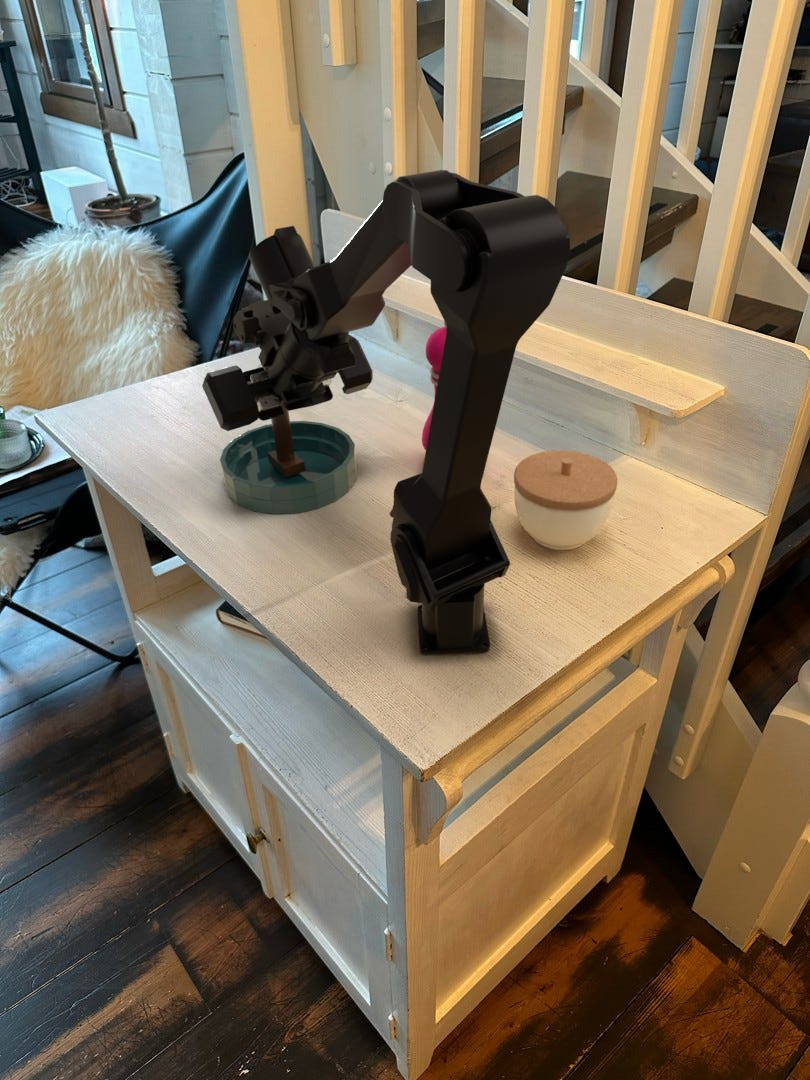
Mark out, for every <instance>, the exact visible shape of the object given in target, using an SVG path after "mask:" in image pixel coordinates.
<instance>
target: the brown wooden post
mask: <svg viewBox="0 0 810 1080" xmlns="http://www.w3.org/2000/svg"><path fill="white" fill-rule="evenodd" d="M263 368H264V370H265V371H266V370H268V368H267V366H266V367H263ZM281 407H282V409H283V412H284V415H281V416H278V417H275V418H272V419H270V421H271V424H272V428H273V435H274V442H275V448H276V450H274V451H271V452H268V459H269V463H270V464H272V465H273V466H274V467H275V468H276V469H277V470H278V471H279V472H280V473H281V474H282V475H284V476H285V477H289V476H292V475H295V474H298V473H301V472H303V471H306V469H305V461H304V460H303V459H301V458H300V457H299V456H298V455H297V454H295V453H294V448H293V440H292V433H291V425H290V421H291V419H290V411H288V404H287V405H284V403H283V400H282V403H281Z"/></svg>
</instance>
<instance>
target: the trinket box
mask: <svg viewBox="0 0 810 1080" xmlns="http://www.w3.org/2000/svg"><path fill="white" fill-rule="evenodd" d="M513 484H514V487H513V489H514V492H513V493H514V494H513V495H514V507H515V511H516V515H517V518H518V521H519V523H520V524H521V526H522V528H523V529H524V531H525V532H527V534H528V535H529V536H531V537H532V539H533V540H534V541H535V543H537V544H538V545H540V546H542V547H544V548H547V549H551V550H554V551H571V550H574V549H577V548H579V547H581V546H583V545H584V544H585V543H587V542H588V541H590V540H591V539H593V538H595V536H596V535H598V534H599V532H600V531H601V530H602V529H603V527H604V526H605V524H606V523H607V521H608V519H609V516H610V514H611V510H612V508H613V504H614V499H615V494H616V491H617V488H618V477H617V473H616V471H615V470H614V469H613V468H612V466H611V465H610V464H608V463H607V462H605V461H604V460H602V459H601V458H599V457H597V456H594V455H591V454H589V453H585V452H581V451H577V450H576V451H575V450H567V449H564V450H563V449H555V450H545V451H541V452H536V453H534V454H531V455H528V456H527V457H525V458H523V459H522V460H521V461H520V462H519V463H518V464H517V465H516V466H515V468H514V472H513Z"/></svg>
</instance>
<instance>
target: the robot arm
mask: <svg viewBox="0 0 810 1080" xmlns="http://www.w3.org/2000/svg"><path fill="white" fill-rule="evenodd" d="M382 195H383V196H382V200H381V201H380V203H378V205H377V206H376V207H375V209H373V211H372V212H371V213H370V215H369V216H368V217H367V218H366V220H365V221H364V222H363V223H362V224H361V226H360V227H359V228H358V229H357V231H355V233H354V235H353V236H352V237H351V238H350V239H349V240H348V242H347V243H346V244H345V245H344V247H343V248H342V249H341V251H340V252H339V253H338V254H337V255H336V256H335V257H333V258H332V259H330V260H329V261H326V262H324V263H322V264H319V265H315V264H314V262H313V259H312V256H311V254H310V253H309V250H308V248H307V246H306V244H305V242H304V240H303V237H302V236H301V234H299V233H298V232H297V230H296V227H295V226H294V225H290V226H284V227H277V228H275V230H274V233H273V234H272V235H270V236H268V237H266V238H264V239H263V240H261V241H259V242H258V244H256V245H255V246H254V247H252V248H251V249H250V250H249V252H248V259H249V261H250V264H251V265H252V268H253V270H254V273H255V274H256V277H257V279H258V282H259V284H260V285H261V288H262V290H263V292H264V295H265V297H266V299H265V300H261V301H256V302H253V303H250V304H249V305H248V306H246V307H244V308H240V311H239V310H238V311H237V312H236V313H235V316H234V317H233V321H232V322H233V324H232V325H233V327H232V328H233V331H234V333H235V335H236V336H237V338H238V340H239V341H240V342H241V344H242V345H243V346H246V345H249V344H252V345H254V346H255V347H256V346H258V348H259V349H260V352H259V354H258V360H259V362H260V364H262V366H263V367H266V366H267V368H268V370H266V371H265V370H264V368H263V367H260V368H258V367H256V368H253V369H248V370H245V371H243V369H242V368H241V367H240V366H238V365H237V364H235V365H231V366H228V367H224V368H223V367H222V368H219V369H216V370H213V371H209V372H207V373H206V375H205V377H204V379H203V381H202V385H201V387H202V389H203V391H204V394H205V396H206V398H207V400H208V403H209V405H210V407H211V409H212V412H213V414H214V416H215V418H216V420H217V422H218V425H219V428H220V429H222V430H224V431H226V432H230V431H233V430H237V429H240V428H243V427H246V426H249V425H252V424H253V423H255V422H256V421H258V420H260V421H263V422H265V421H268V420H271V419H272V418H275V417H278V416H281V415H284V412H283V409H282V407H281V403H282V400H283V403H284V405H287V404H288V411H289V412H290V411H294V410H295V411H296V410H299V409H305V408H309V407H313V406H317V405H320V404H324V403H327V402H330V401H331V400H332V399H334V395H333V392H332V390H331V387H330V385H332V382H333V381H332V379H335V377H336V375H337V374H338V375H339V378H340V379H341V381H342V384H343V386H342V388H341V390H342V391H343V394H344V395H350V394H353V393H357V392H361V391H364V390H367V388H369V386H370V384H371V383H372V382H373V379H374V374H373V373H374V372H373V369H372V367H371V364H370V362H369V360H368V358H367V356H366V354H365V351H364V349H363V348H362V345H361V343H360V341H359V340H358V339H357V338H356V337H355V336H353V335H351V334H350V332H353V331H357V330H362V329H366V328H370V327H371V326H373V325H374V324H375V322H376V321H377V319H378V317H379V316H380V314H381V313H382V311H383V310H384V308H385V306H386V302H385V299H384V296H383V295H384V294H385V292H386V291H387V289H388V288H389V287H390V286H392V284H393V283H394V282H395V281H397V280H398V279H399V278H400V277H401V276H402V275H403V274H404V273H406V271H408V269H409V268H410V267H412V268H413V269H414V270H416V271H417V272H418V273H420V274H422V275H423V276H424V277H426V278H427V279H428V280H430V294H431V297H432V299H433V301H434V303H435V305H436V307H437V309H438V310H439V312H440V315H441V317H442V319H443V322H444V321H445V323H446V325H447V332H446V338H445V344H444V350H443V356H442V361H441V367H440V373H439V379H438V384H437V390H436V396H435V395H434V397H435V402H434V401H433V404H434V407H433V406H432V407H433V413H432V419H431V425H430V430H429V436H428V442H427V448H426V450H425V454H424V459H423V464H422V465H423V466H422V472H420V473H418V474H415V475H412V476H409V477H407V478H404V479H401V480H399V481H397V482H396V485H395V487H394V489H393V502H392V503H393V504H392V508H391V510H390V511H389V516H390V518H392V523H391V531H390V538H389V541H390V545H391V549H392V553H393V557H394V561H395V567H396V570H397V574H398V578H399V580H400V583H401V585H402V586H403V587H404V588H405V590H406V599H407V600H408V601H409V602H411V603H417V604H419V605H418V606H417V608H416V609H417V610H416V612H417V627H418V629H417V630H418V631H417V632H418V645H419V646H418V647H419V653H420V654H422V655H444V654H445V655H446V654H469V653H470V654H471V653H472V654H473V653H487V652H489V651H490V650H491V643H490V635H489V629H488V625H487V618H486V612H485V606H484V605H485V585H486V584H487V583H489V582H492V581H493V580H496V579H498V578H503V577H505V576H506V575H507V572H508V570H509V568H510V566H511V561H510V558H509V557H508V555H507V552H506V551H505V548H504V546H503V544H502V542H501V539H500V537H499V535H498V533H497V531H496V529H495V526H494V524H493V522H492V520H491V519H492V511H493V508H492V505H491V503H490V502H489V500H488V499H487V497H486V495H485V493H484V492H483V489H482V481H483V478H484V474H485V469H486V466H487V462H488V458H489V453H490V450H491V447H492V443H493V438H494V435H495V431H496V427H497V423H498V419H499V416H500V411H501V407H502V402H503V399H504V395H505V392H506V388H507V384H508V380H509V375H510V372H511V368H512V364H513V361H514V357H515V353H516V349H517V346H518V344H519V341H520V340H521V338H522V337H523V336H524V335H525V334H526V333H527V332H528V331H529V329H531V327H532V325H534V323H535V322H536V321H537V320H538V319H539V317H541V315H542V314H543V313H544V312H545V310H547V308H549V306H550V304H551V302H552V300H553V298H554V296H555V293H556V291H557V289H558V287H559V284H560V282H561V281H562V278H563V276H564V274H565V271H566V269H567V266H568V264H569V260H570V259H569V258H570V253H571V236H570V234H569V233H568V228H567V226H566V224H565V221H564V220H563V218H562V217H561V215H560V212H558V210H557V208H556V206H554V204H553V203H552V202H550V200H549V199H548V198H546V197H544V196H541V195H539V194H533V195H526V196H525V195H523V194H521V193H520V192H516V191H514V190H510V189H505V188H501V187H496V186H492V185H487V184H483V183H479V182H474V181H471V180H469V179H467V178H465V177H464V176H462V175H460V174H458V173H456V172H450V171H448V170H447V169H446V170H445V169H439V170H433V171H427V172H420V173H414V174H408V175H402V176H398V177H397V178H396V179H394V180H393V181H391V182H390V183H388V184H387V185H386V187H385V188H384V190H383V194H382Z"/></svg>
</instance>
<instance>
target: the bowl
mask: <svg viewBox="0 0 810 1080" xmlns="http://www.w3.org/2000/svg"><path fill="white" fill-rule="evenodd" d="M290 425H291V433H292V440H293V448H294V453H295V454H297V455H298V456H299V457H300V458H301V459H303V460H304V461H305V469H306V471H303V472H301V473H298V474H295V475H292V476H289V477H285V476H284V475H282V474H281V473H280V472H279V471H278V470H277V469H276V468H275V467H274V466H273V465H272V464H270V463H269V459H268V452H271V451H274V450H276V448H275V442H274V435H273V428H272V423H270V424H269V423H268V424H264V425H261V426H257V427H255V428H252V429H250V430H247V431H245V432H243V433H242V434H240V435H238V436H237V437H235V438H233V439H232V440H231V441H230V442H229V443H227V444H226V446H225V447H224V448H223V450H222V452H221V455H220V459H219V462H220V468H221V473H222V477H223V483H224V487H225V491H226V493H227V496H228V497H229V498H230V499H231V500H232V501H233V502H234V503H235V504H236V505H238V506H240V507H243V508H245V509H247V510H249V511H252V512H257V513H263V514H269V515H283V514H284V515H286V514H287V515H288V514H299V513H303V512H304V513H305V512H309V511H314V510H319V509H320V508H323V507H325V506H328V505H330V504H332V503H334V502H337V501H338V500H340V499H341V498H342V497H344V496H345V495H346V494H347V493H349V492H350V491H351V489H352V488H353V486H354V485H355V483H356V481H357V472H358V467H357V457H356V456H357V455H356V444H355V442H354V440H353V439H352V438H351V436H350V434H348V433H346V432H345V431H343V430H342V429H341V428H339V427H337V426H333V425H330V424H326V423H323V422H319V421H309V420H308V421H307V420H290Z"/></svg>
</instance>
